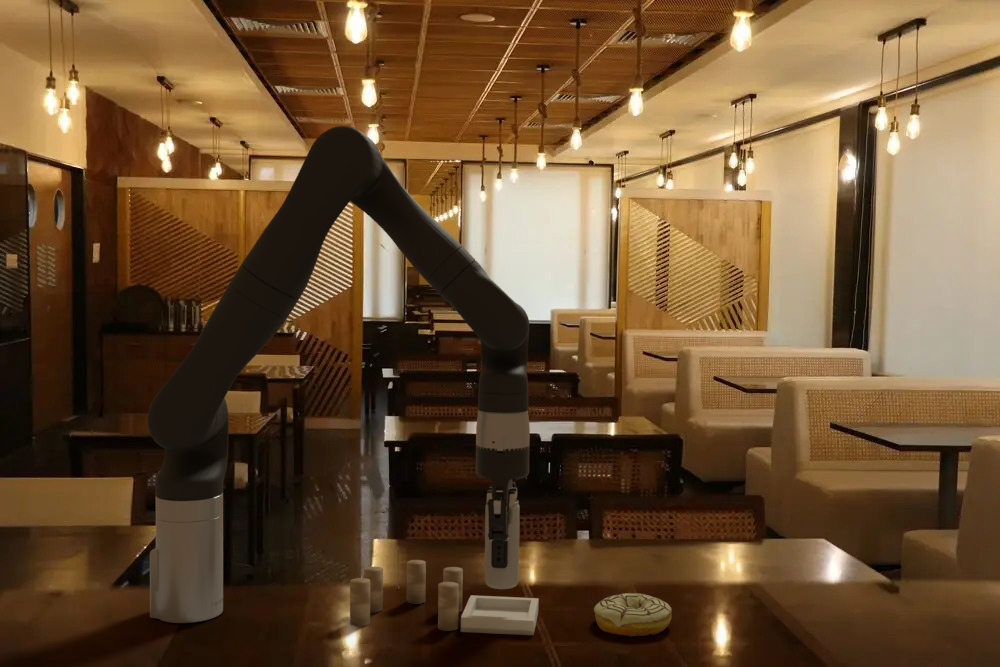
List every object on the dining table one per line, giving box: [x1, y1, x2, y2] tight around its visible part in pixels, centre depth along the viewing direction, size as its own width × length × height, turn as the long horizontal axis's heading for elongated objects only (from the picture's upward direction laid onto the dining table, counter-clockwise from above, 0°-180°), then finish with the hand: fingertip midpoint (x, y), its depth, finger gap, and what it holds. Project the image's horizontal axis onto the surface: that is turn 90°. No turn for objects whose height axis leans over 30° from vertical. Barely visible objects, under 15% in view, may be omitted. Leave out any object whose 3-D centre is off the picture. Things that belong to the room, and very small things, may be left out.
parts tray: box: [460, 594, 540, 636], centre depth 144 cm, size 10×10×2 cm
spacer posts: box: [349, 559, 464, 632], centre depth 147 cm, size 15×13×6 cm
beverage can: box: [484, 499, 521, 590], centre depth 143 cm, size 5×5×12 cm
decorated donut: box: [593, 592, 673, 638], centre depth 143 cm, size 10×11×4 cm
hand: (501, 561), depth 144 cm, fingers closed on beverage can, 4 cm apart
